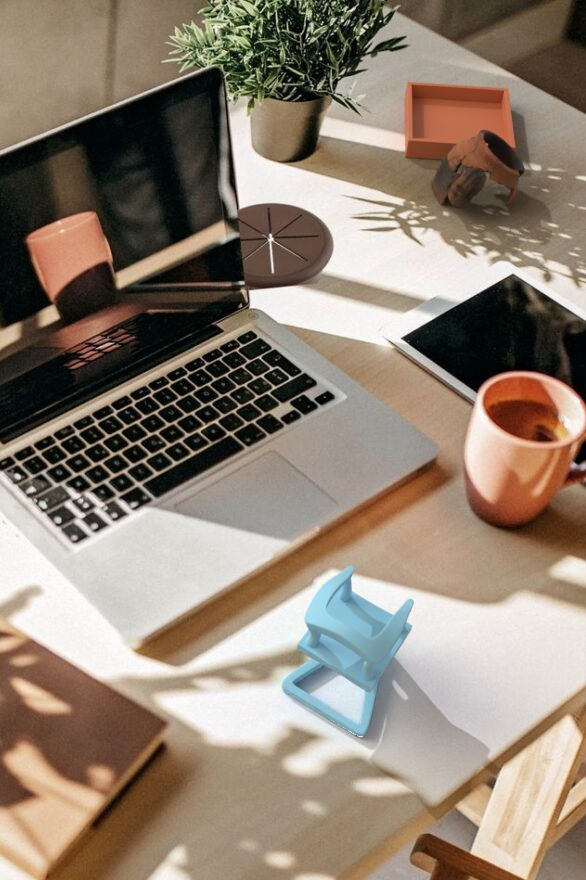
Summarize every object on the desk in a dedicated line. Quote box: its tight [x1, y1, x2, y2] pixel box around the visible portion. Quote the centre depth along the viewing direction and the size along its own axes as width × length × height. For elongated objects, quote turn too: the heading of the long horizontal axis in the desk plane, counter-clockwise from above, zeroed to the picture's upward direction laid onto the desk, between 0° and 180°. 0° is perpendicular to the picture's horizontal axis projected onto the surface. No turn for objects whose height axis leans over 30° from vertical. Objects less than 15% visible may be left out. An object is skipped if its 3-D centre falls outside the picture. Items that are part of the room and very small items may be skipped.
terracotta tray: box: [404, 81, 516, 161], centre depth 125 cm, size 13×13×2 cm
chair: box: [281, 565, 415, 737], centre depth 75 cm, size 8×8×12 cm
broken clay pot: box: [430, 130, 526, 209], centre depth 115 cm, size 12×10×8 cm
